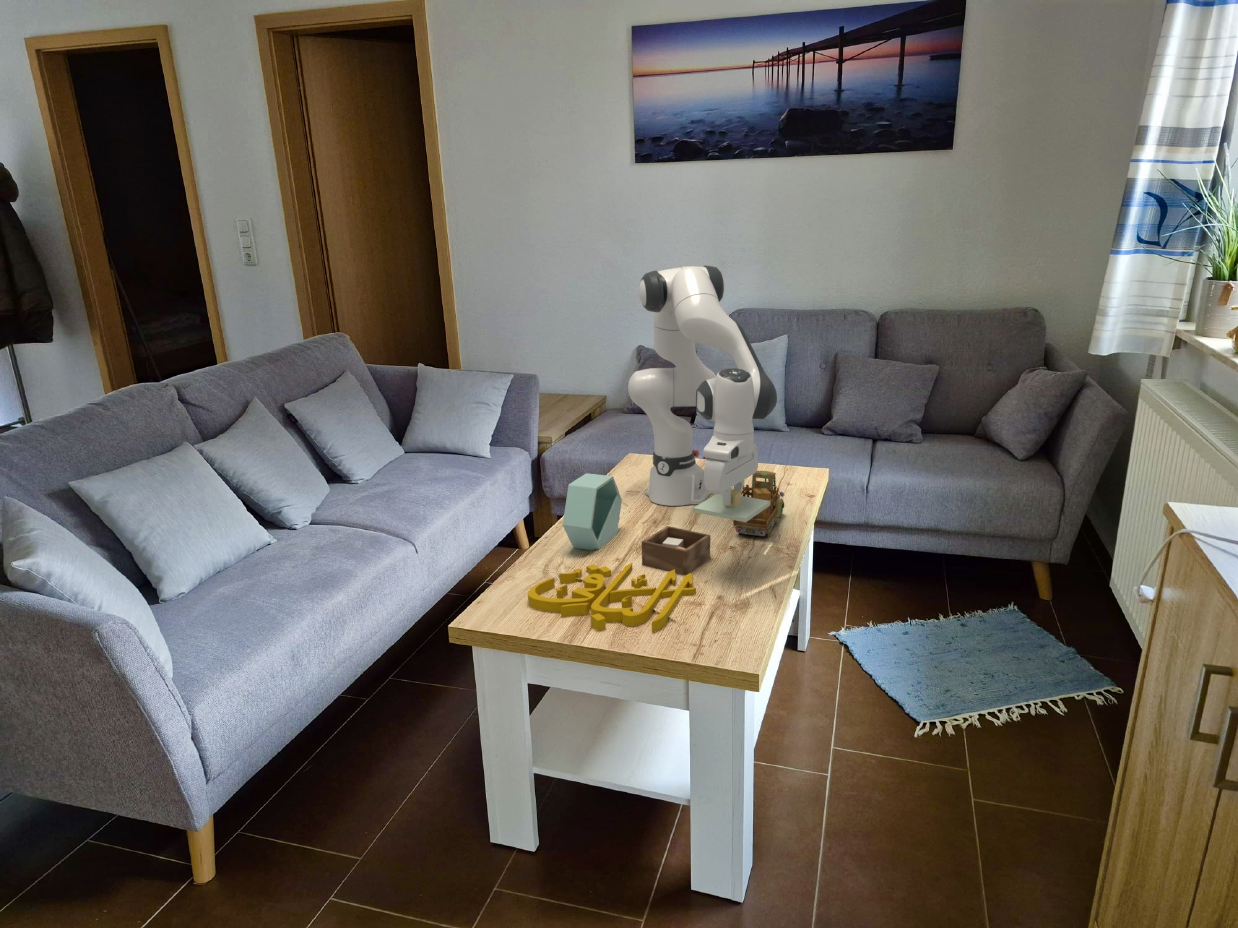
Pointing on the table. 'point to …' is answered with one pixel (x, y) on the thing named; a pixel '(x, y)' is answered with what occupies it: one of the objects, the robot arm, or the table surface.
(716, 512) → the lid
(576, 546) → the planter
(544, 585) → the decorative art
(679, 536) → the walnut box
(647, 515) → the table surface
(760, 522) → the toy truck
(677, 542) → the cream cube
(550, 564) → the table surface
